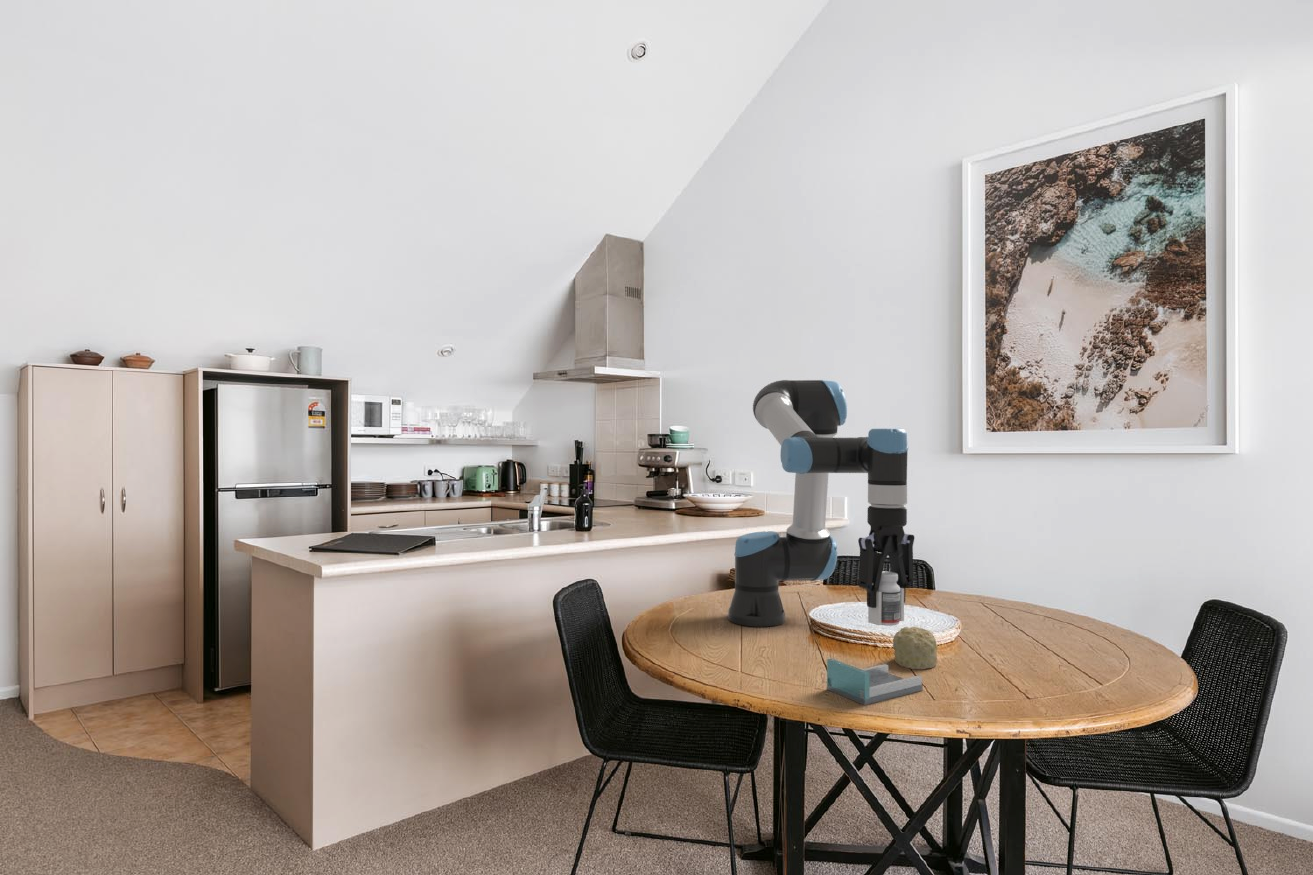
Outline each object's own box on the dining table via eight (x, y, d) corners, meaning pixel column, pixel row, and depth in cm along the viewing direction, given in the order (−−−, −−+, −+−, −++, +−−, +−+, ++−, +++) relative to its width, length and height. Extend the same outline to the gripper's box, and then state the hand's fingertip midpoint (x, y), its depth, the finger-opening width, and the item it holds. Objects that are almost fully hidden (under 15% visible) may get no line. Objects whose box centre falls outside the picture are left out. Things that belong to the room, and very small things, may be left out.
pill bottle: (865, 618, 156) (866, 570, 156) (892, 618, 156) (893, 570, 156) (876, 626, 150) (877, 576, 150) (904, 626, 151) (905, 575, 150)
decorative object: (939, 678, 169) (933, 634, 175) (940, 664, 161) (935, 619, 167) (895, 679, 172) (891, 635, 177) (894, 665, 164) (890, 620, 169)
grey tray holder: (883, 676, 160) (884, 647, 160) (922, 690, 151) (922, 660, 151) (826, 689, 152) (827, 659, 152) (864, 705, 143) (864, 673, 143)
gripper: (904, 501, 161) (903, 611, 161) (839, 506, 151) (838, 623, 151) (934, 505, 154) (933, 619, 154) (867, 509, 145) (866, 632, 145)
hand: (886, 621), depth 153 cm, fingers closed on pill bottle, 6 cm apart
